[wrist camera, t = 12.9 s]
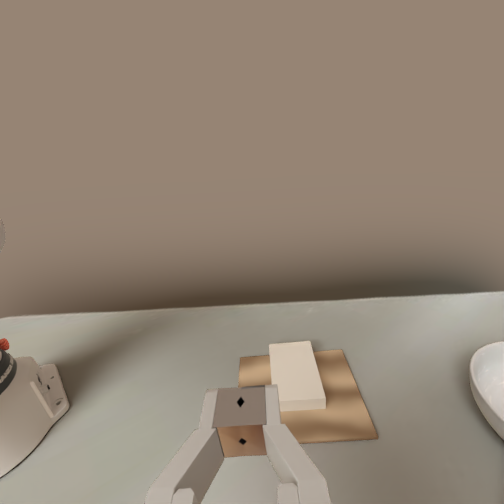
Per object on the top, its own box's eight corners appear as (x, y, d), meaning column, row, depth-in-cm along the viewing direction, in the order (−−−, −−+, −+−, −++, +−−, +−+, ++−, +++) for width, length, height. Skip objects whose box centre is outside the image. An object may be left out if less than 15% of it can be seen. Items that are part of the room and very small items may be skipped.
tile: (325, 398, 39) (309, 340, 50) (273, 401, 39) (268, 344, 50) (325, 408, 40) (310, 350, 51) (274, 412, 40) (269, 353, 51)
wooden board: (377, 439, 35) (378, 436, 35) (235, 447, 37) (234, 445, 36) (341, 351, 50) (341, 349, 50) (240, 359, 51) (240, 357, 51)
